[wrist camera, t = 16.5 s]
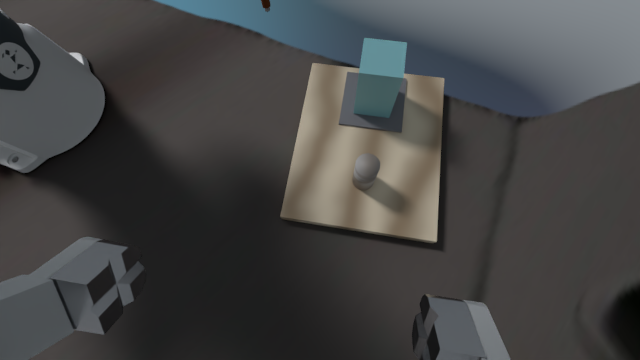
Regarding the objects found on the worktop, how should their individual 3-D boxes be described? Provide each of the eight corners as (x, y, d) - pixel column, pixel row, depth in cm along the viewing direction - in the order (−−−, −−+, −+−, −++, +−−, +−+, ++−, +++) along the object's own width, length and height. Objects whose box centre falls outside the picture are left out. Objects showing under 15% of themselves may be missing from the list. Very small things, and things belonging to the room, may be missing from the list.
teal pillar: (353, 113, 39) (358, 72, 31) (357, 83, 40) (364, 37, 33) (389, 118, 38) (403, 78, 31) (392, 87, 40) (406, 42, 32)
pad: (338, 124, 39) (338, 123, 38) (347, 73, 41) (347, 71, 41) (401, 132, 38) (401, 131, 38) (406, 79, 41) (406, 78, 40)
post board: (282, 219, 37) (272, 206, 30) (313, 70, 43) (310, 35, 37) (432, 243, 35) (454, 235, 29) (440, 85, 42) (459, 51, 36)
